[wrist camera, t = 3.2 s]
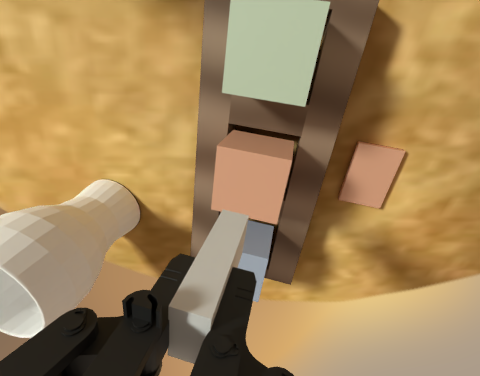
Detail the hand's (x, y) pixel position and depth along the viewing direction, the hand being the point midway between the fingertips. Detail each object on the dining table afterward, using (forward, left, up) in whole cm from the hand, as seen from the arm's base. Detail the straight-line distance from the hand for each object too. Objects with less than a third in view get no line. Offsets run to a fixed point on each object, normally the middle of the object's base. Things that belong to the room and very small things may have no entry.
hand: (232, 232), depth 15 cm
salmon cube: (0, 0, -10) cm, 10 cm away
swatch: (0, +10, -13) cm, 17 cm away
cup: (+11, -18, -14) cm, 25 cm away
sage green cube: (-9, 0, -10) cm, 14 cm away
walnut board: (0, 0, -13) cm, 13 cm away
